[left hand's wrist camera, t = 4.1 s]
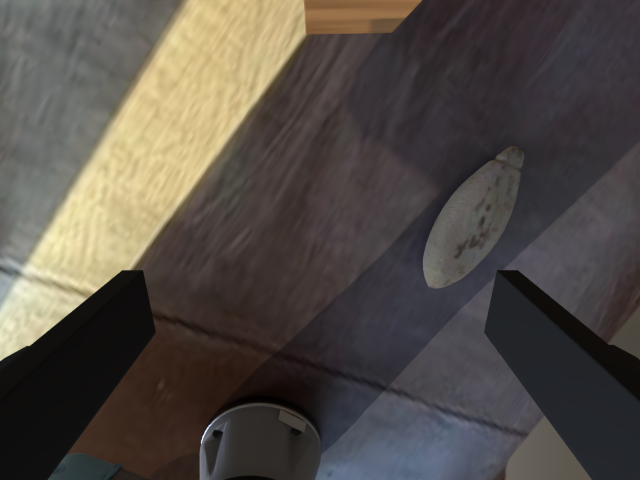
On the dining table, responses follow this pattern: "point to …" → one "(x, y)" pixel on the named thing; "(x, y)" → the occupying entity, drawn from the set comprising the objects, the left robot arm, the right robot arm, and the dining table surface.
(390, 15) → the bar
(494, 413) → the dining table surface
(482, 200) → the decorative stone
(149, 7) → the dining table surface
